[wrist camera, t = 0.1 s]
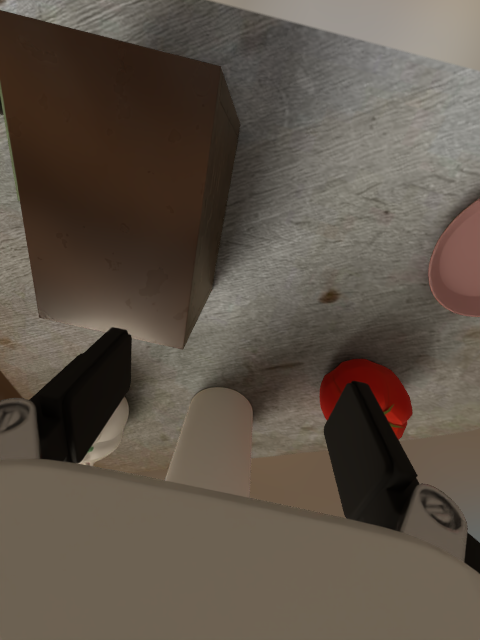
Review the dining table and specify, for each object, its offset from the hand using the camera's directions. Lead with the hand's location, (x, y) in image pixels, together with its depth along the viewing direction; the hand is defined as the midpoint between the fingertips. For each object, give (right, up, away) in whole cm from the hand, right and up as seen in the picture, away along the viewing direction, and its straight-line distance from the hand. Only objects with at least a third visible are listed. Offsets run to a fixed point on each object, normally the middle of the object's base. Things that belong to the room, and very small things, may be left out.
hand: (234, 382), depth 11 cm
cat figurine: (-23, -13, +35) cm, 43 cm away
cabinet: (-7, +16, +19) cm, 25 cm away
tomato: (+17, -6, +28) cm, 33 cm away
